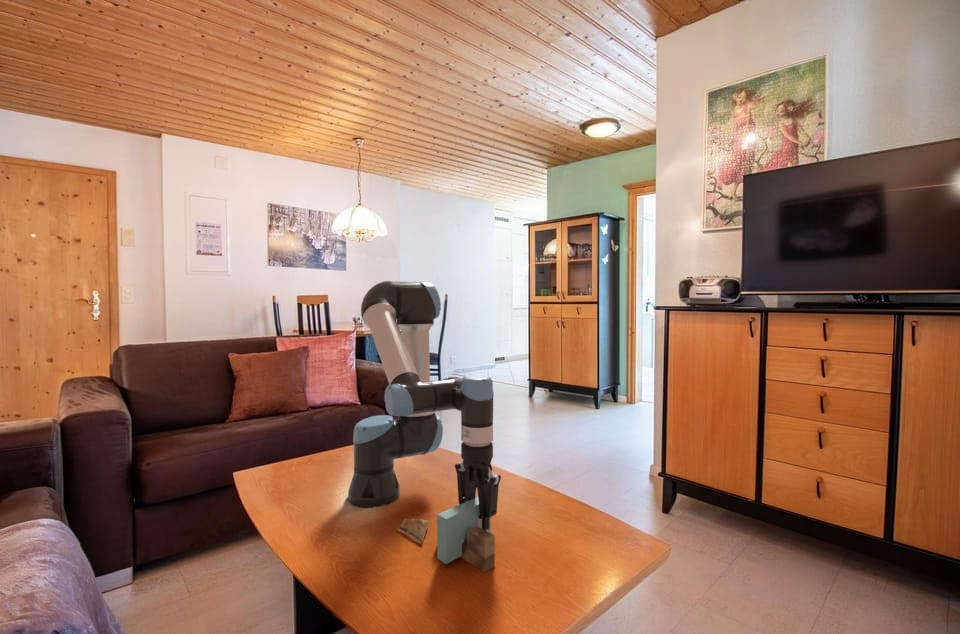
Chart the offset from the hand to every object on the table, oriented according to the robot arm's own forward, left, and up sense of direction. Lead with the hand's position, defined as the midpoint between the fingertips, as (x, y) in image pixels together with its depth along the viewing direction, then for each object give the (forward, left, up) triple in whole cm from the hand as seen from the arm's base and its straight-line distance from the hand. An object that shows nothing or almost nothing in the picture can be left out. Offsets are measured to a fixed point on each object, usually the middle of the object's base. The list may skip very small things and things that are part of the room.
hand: (477, 539), depth 107 cm
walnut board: (0, -4, -2) cm, 4 cm away
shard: (-16, -5, -3) cm, 17 cm away
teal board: (0, -4, -1) cm, 4 cm away
